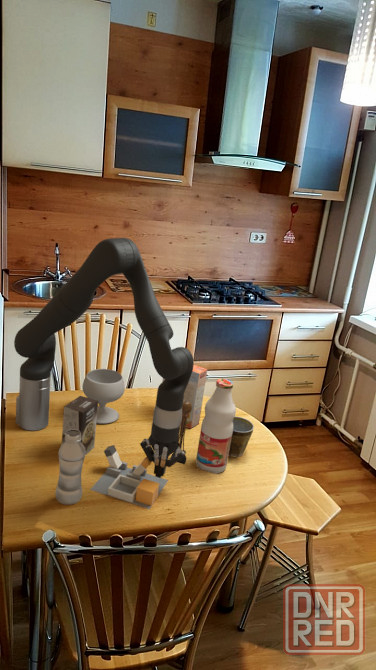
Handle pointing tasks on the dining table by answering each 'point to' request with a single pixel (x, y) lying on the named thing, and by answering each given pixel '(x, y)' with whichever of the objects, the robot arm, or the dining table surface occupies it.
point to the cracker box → (195, 395)
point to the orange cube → (147, 492)
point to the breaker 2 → (141, 467)
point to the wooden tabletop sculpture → (183, 428)
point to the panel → (125, 483)
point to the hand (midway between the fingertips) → (159, 475)
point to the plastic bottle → (70, 468)
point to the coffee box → (81, 420)
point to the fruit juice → (217, 429)
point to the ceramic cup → (240, 436)
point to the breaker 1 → (113, 457)
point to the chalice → (104, 392)
